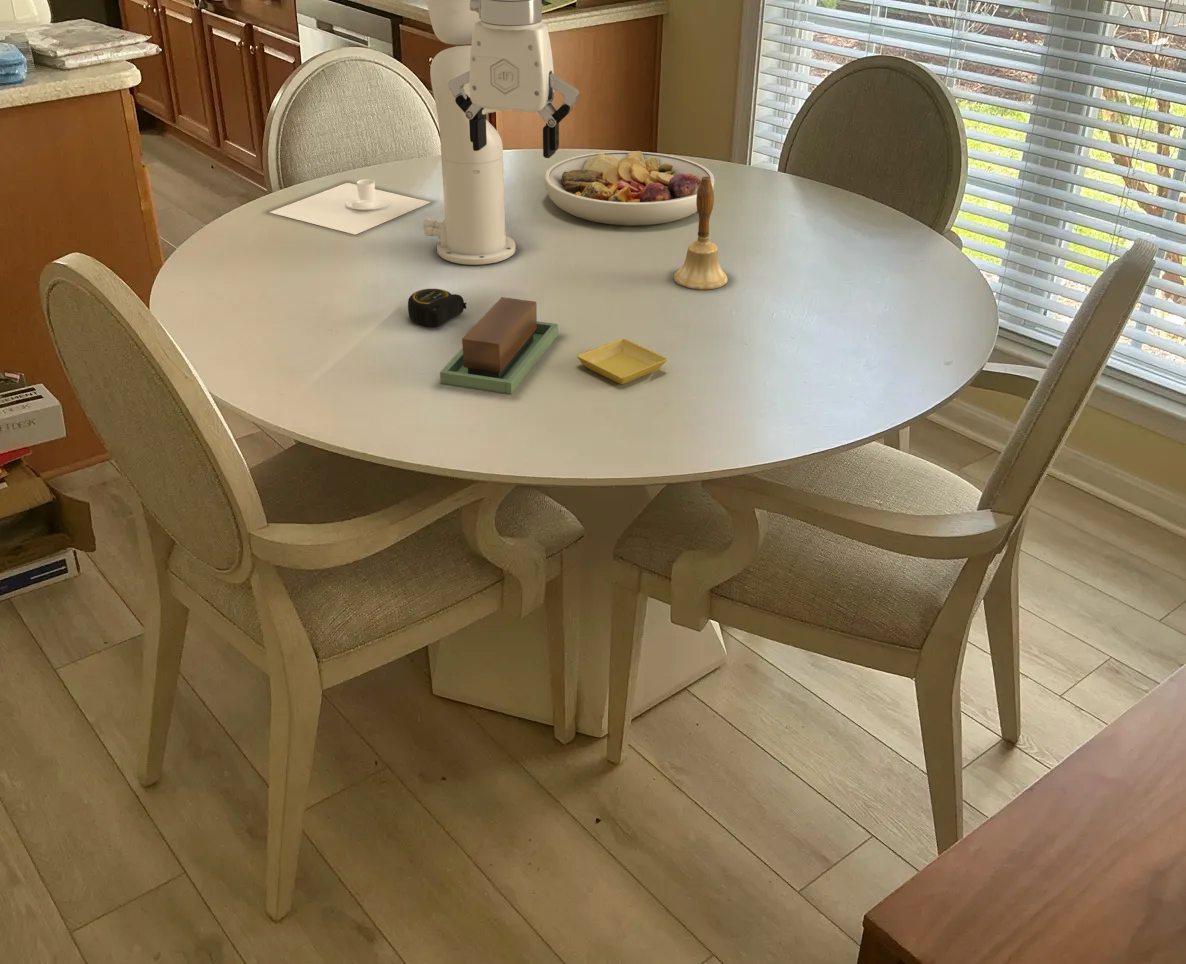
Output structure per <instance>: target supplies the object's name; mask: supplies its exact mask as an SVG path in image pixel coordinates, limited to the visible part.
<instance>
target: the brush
mask: <svg viewBox="0 0 1186 964" xmlns="http://www.w3.org/2000/svg"><path fill="white" fill-rule="evenodd" d="M537 313H538V311H537V301H535V300H534V301H533V300H525V299H520V298H511V297H505V296H504V297H503V296H501V297H500V298H499V299H498V301H496V302H495V304H493V306H492V307H490V309H489V310H488V311H487V312H486V313H485V314H484V315H483V316H482V317H481V318H480V319H479V320H478V321H477V322H476V323H475V325H474V326H473V327H472V328H471V329H470V330H469V331H468V332H467V333H466V334H465V335H464V336H463V337H462V339H461V342H462V343H461V344H462V348H463V364H464V367H465V368H468V374H473V375H479V376H486V377H493V378H499V379H501V378H502V377H503V376H504V375H505V373H506V372H507V371H508V370H509V369H510V367H511V366H512V365H513V364H514V362H515V361H516V360H517V359H518V358H519V356H520V355H521V354H522V353H523V352H524V350H525V349H526V348H527V347H528V345H529V344H530V343H531V342H532V341H533V333H534V332H535V330H536V329H537V321H538V319H537V317H538V315H537Z"/></svg>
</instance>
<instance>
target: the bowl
mask: <svg viewBox="0 0 1186 964" xmlns="http://www.w3.org/2000/svg"><path fill="white" fill-rule="evenodd" d="M702 177H710V178H711V184H712V187H713V189H714V188H715V176H714V174H713V173H712V172H711V171H710V170H709V169H708V168H707V167H705V166H704V165H702V164H701V163H700V164H699V163H697V162H695V161H692V160H689V159H687V158H682V157H678V156H675V155H670V154H664V153H656V152H647V151H646V152H645V151H641V150H631V151H621V150H620V151H603V152H602V151H601V152H594V153H587V154H581V155H577V156H573V157H569V158H565V159H563V160H561V161H558V162H555V164H553V165H551V166H550V167H549V168H548V169H547V170H546V172H545V175H544V182H545V189H546V192H547V194H548V196H549V198H550V200H551V201H552V202H553V203H554V204H555V205H556V206H557V207H558V208H559V209H561V210H563V211H564V212H566V213H568V214H569V215H572V216H574V217H576V218H579V219H582V220H585V221H590V222H595V223H600V224H605V225H614V226H652V225H659V224H666V223H670V222H675V221H678V220H682V219H685V218H688V217H690V216H692V215H693V214H695V213H698V211H697V205H696V199H697V191H698V188H699V186H700V183H701V180H702Z"/></svg>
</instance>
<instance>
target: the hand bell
mask: <svg viewBox="0 0 1186 964" xmlns="http://www.w3.org/2000/svg"><path fill="white" fill-rule="evenodd" d="M714 203H715V192H714V188H713V187H712V184H711V178H710V177H702V180H701V183H700V186H699V188H698V191H697V199H696V205H697V215H698V227H697V228H698V229H697V240H696V241H693V242H691V243H689V245H688V247H687V252H686V256H685V259H684V262H683V264H682V265H681V267H680V268H679V269H677V270H676V271H675V273H674V275H673V280H674V282H675V283H676V284H677V285H679V286H682V287H684V288H687V289H691V290H698V291H702V290H703V291H704V290H706V291H707V290H716V289H719V288H722V287H723V286H725V285H726V284H728V280H729V279H728V276H727V274H726V272H725V271H723V269H722V267H721V265H720V261H719V254H718V253H719V251H718V246H717V245H716V244H715V243H714V242H711V241H710V219H711V215H712V211H713V208H714Z"/></svg>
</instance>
